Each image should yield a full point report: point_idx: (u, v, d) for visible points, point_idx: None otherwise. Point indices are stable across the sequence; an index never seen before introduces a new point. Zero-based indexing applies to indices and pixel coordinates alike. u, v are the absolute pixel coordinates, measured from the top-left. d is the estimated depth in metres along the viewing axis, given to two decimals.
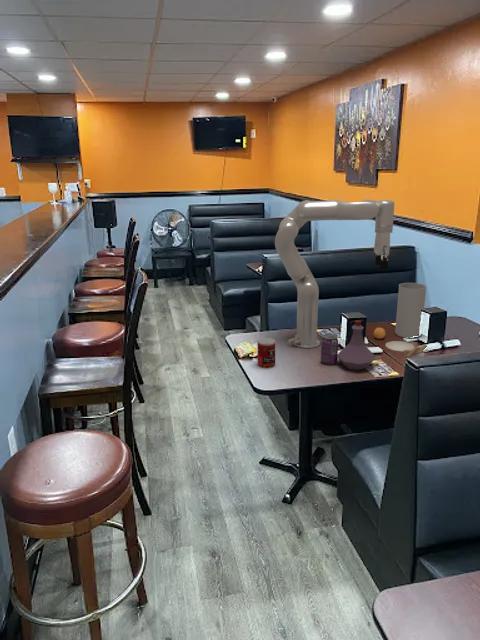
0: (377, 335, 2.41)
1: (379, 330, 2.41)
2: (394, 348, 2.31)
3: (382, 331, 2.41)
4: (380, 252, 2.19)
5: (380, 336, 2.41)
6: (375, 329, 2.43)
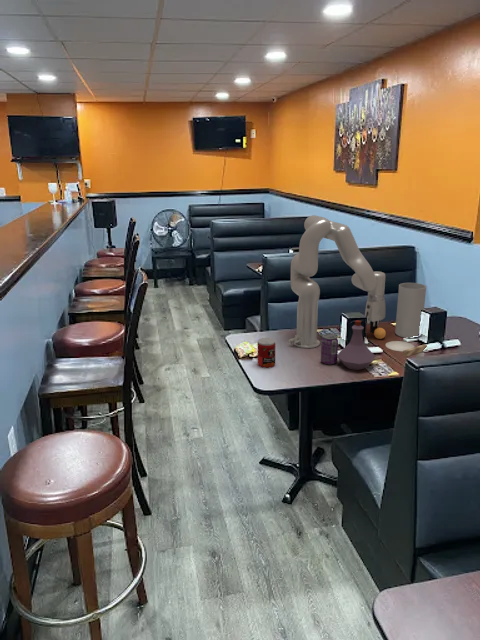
0: (377, 335, 2.41)
1: (379, 330, 2.41)
2: (394, 348, 2.31)
3: (382, 331, 2.41)
4: None
5: (380, 336, 2.41)
6: (375, 330, 2.43)
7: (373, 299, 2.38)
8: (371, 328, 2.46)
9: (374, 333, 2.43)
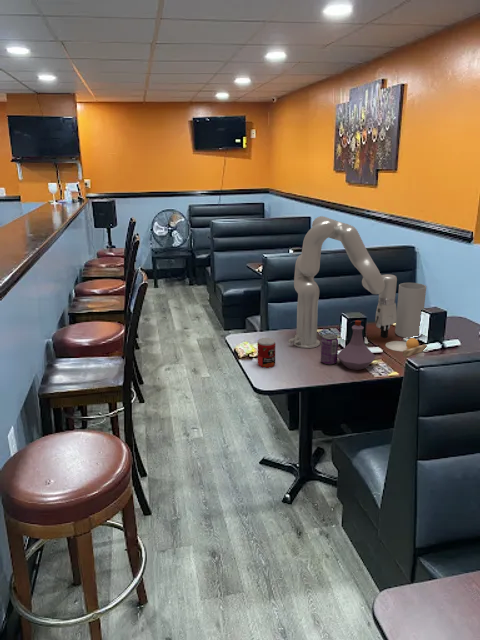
0: (409, 347, 2.27)
1: (413, 342, 2.26)
2: (394, 348, 2.31)
3: (416, 344, 2.26)
4: None
5: None
6: (409, 339, 2.28)
7: (384, 303, 2.33)
8: (382, 332, 2.40)
9: (406, 343, 2.28)
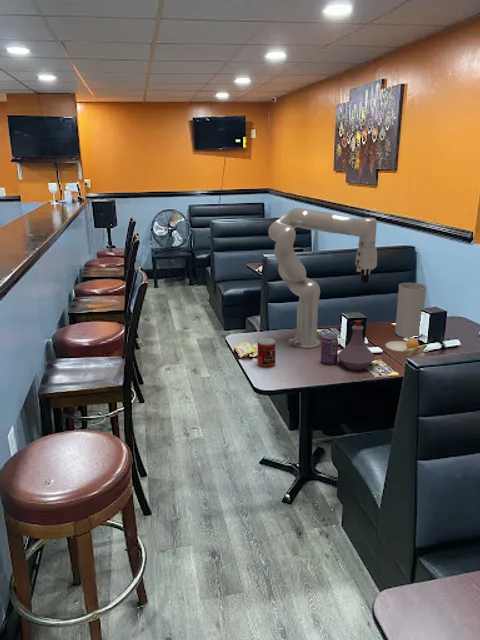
0: (409, 347, 2.27)
1: (413, 342, 2.26)
2: (394, 348, 2.31)
3: (416, 344, 2.26)
4: None
5: None
6: (409, 339, 2.28)
7: (364, 246, 2.32)
8: (362, 277, 2.39)
9: (406, 343, 2.28)
